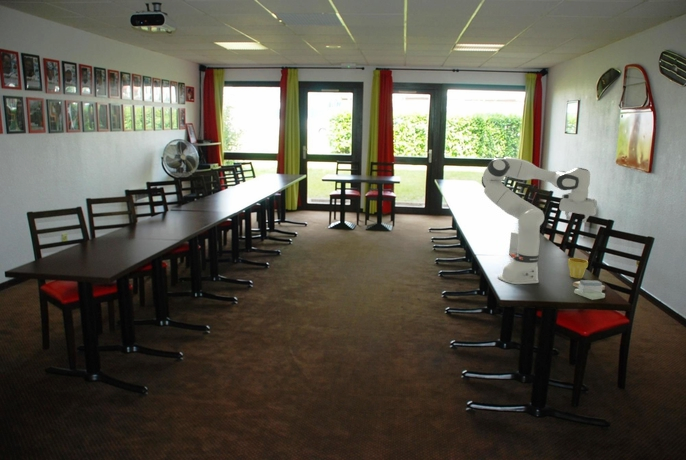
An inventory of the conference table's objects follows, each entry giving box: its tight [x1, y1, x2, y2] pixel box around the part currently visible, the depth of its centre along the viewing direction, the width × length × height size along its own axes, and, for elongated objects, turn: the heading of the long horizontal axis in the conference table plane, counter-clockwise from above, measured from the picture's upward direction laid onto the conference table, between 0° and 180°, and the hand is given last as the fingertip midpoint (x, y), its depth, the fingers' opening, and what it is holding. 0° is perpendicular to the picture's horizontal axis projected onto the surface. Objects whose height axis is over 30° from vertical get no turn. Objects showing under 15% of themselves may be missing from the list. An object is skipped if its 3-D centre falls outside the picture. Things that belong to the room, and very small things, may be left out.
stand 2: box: [573, 288, 606, 300], centre depth 276 cm, size 9×11×2 cm
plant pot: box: [567, 257, 589, 279], centre depth 307 cm, size 10×10×10 cm
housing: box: [577, 279, 604, 293], centre depth 275 cm, size 10×5×5 cm, turn 95°
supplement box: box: [508, 230, 519, 256], centre depth 352 cm, size 9×9×15 cm
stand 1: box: [572, 280, 606, 291], centre depth 288 cm, size 11×11×2 cm
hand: (575, 220), depth 307 cm, fingers open, 8 cm apart
